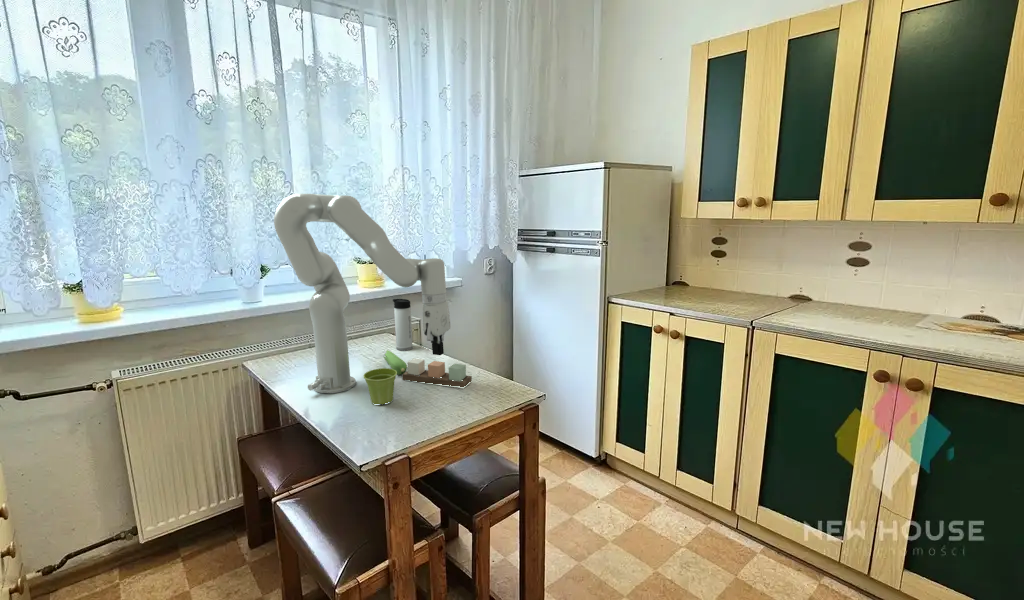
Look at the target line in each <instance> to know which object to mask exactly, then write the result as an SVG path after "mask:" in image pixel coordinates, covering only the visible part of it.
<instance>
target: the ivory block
mask: <svg viewBox="0 0 1024 600" xmlns="http://www.w3.org/2000/svg"><path fill="white" fill-rule="evenodd" d="M425 362H426V361H425V359H421V358H411V359H410V360H409V361H407V363H406V365H407V371H408V374H413V375H416V376H419V375H420V374H421V373H423V372H424V371H425V370H426V365H425Z"/></svg>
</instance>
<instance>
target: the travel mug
mask: <svg viewBox="0 0 1024 600" xmlns="http://www.w3.org/2000/svg"><path fill="white" fill-rule="evenodd" d="M392 302H393V307H394V308H393V311H394V314H393V315H394V329H395V330H394V331H395V345H396V347H395V348H396V350H397V351H401V352H406V351H410V350H412V349H413V348H414V347H413V346H414V345H413V326H412V325H413V324H412V308H411V300H410V299H406V298H393V299H392Z"/></svg>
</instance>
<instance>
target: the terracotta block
mask: <svg viewBox="0 0 1024 600" xmlns="http://www.w3.org/2000/svg"><path fill="white" fill-rule="evenodd" d="M427 370H428V377H434V378H438V379H440V377H442V376H443V375H444V374H445V373H446V362H445V361H439V360H438V361H437V360H433V361H431V362H430V363H428V364H427Z"/></svg>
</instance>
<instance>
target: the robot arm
mask: <svg viewBox="0 0 1024 600" xmlns="http://www.w3.org/2000/svg"><path fill="white" fill-rule="evenodd" d="M312 222H318V223H319V222H321V223H324V222H325V223H334V224H335V225H337V227H339V228H340V229H341V231H343V232H344V233H345V234H346V235H347V236H348V237H349V238H350V239H351V240H352V241H353V242H354V243H355V244H357V246H359V247H360V248H361V249H362V250H363V251H364V254H366V255H367V257H368V258H369V259H371V261H372V262H373V263H374V265H375V266H376V267H377V268H378V269H380V271H381V272H382V273H384V274H385V276H386V277H388V278H389V279H390V280H391V281H392V283H394V284H396V285H397V286H400V288H410V287H413V286H414V285H415V284H416V283H417V282H418V281H420V285H421V287H420V289H421V299H422V300H421V301H422V330H423V334H424V335H425V336H426V341H427V342H428V341H430V343H431V351H432V353H431V354H432V355H434V356H442V355H443V354H444V353H445V352H444V339H445V338H444V337H445V336H444V335H445V334H446V332H448V331H449V330H451V318H450V311H449V310H450V309H449V305H448V301H447V287H446V284H447V283H446V273H445V272H446V270H445V267H446V266H445V261H444V260H443V259H441V258H434V257H432V258H425V259H424V258H423V259H420V258H419V259H418V258H405V256H403V255H402V254H401V253H400V252H399V251H398V250H397V249H396V247H394V245H393V244H392V242H391V241H390V239H389V237H388V235H387V233H386V232H385V230H384V229H383V228H382V227H381V226H380V225H379V224H378V223H377V222H376V221H375V220H374V219H373V218H372V217H370V216H369V214H368V213H366V212H365V211H364V210H363V209H362V205H361V204H360V202H359V200H358V199H356V198H355V197H353V196H351V195H347V194H346V195H333V194H319V193H317V194H316V193H294V194H291V195H289V196H287V197H285V198H284V199H283V200H282V201H281V202H280V203H279V204H278V206H277V207H276V210H275V212H274V217H273V223H274V224H273V225H274V229H275V232H276V235H277V237H278V239H279V241H280V242H281V245H282V247H283V249H284V251H285V254H286V256H287V258H288V260H289V261H290V264H291V266H292V269H293V270H294V272H295V275H296V276H297V279H298V280H299V282H301V283H302V284H303V285H304V286H307V287H313V289H314V290H315V293H314V294H313V295H312V296H311V298H310V300H309V308H308V309H309V315H310V319H311V323H312V325H311V326H312V330H313V339H314V340H313V341H314V348H315V349H314V350H315V359H316V370H317V376H315V380H314V381H313V382H311V383H309V384H308V385H307V389H308V390H309V391H311V392H312V391H315V392H316V393H322V394H337V393H341V392H344V391H345V392H346V391H348V390H350V389H352V388H353V387H355V385H356V383H357V382H356V378H354V377H353V376H351V371H350V358H349V357H350V356H349V346H348V343H349V342H348V334H347V333H348V332H347V325H346V318H345V312H344V311H345V309H346V308H347V306H349V303H350V298H351V297H350V292H349V289H348V287H347V285H346V282H345V280H344V278H343V276H342V273H341V272H340V270H339V268H338V266H337V264H336V262H335V260H334V259H333V258H332V257H331V256H330V255H329V254H327V253H326V252H323V251H320V250H319V248H318V247H317V244H316V242H315V240H314V238H313V236H312V235H311V233H310V231H309V230H308V227H307V223H312Z"/></svg>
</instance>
